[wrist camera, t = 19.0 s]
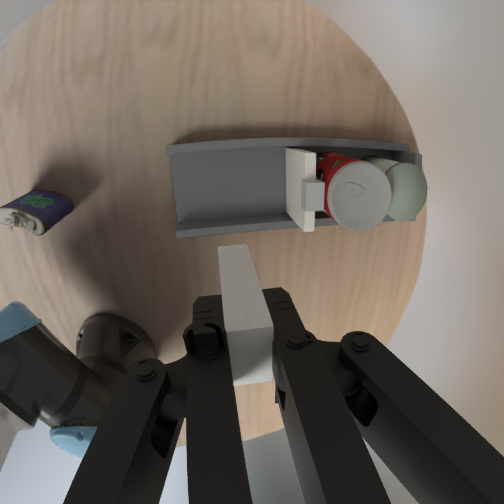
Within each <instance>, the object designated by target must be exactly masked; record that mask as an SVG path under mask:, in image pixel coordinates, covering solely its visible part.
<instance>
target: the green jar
mask: <svg viewBox="0 0 504 504" xmlns="http://www.w3.org/2000/svg"><path fill="white" fill-rule="evenodd" d="M360 160H363V161H366V162H369V163H372V164H373V165H375V166H377V167H378V168H380V169H381V170H382V171H383V172H384V173H385V175H386V176H387V178H388V180H389V182H390V185H391V190H392V200H391V205H390V208H389V211H388V213H387V215H388V216H390V217H391V218H393V219H395V220H397V221H408V220H410V219H412V218H414V217H415V216H416V215H417V214H418V213H419V212H420V211H421V209H422V208H423V206H424V203H425V201H426V197H427V182H426V178H425V176H424V174H423V172H422V171H421V170H420V169H419V168H418V167H417V166H415V165H413V164H410V163H405V162H401V163H400V162H396V161H393V160H389V159H385V158H381V157H377V156H365V157H363V158H361V159H360Z"/></svg>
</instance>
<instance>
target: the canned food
mask: <svg viewBox="0 0 504 504" xmlns="http://www.w3.org/2000/svg"><path fill="white" fill-rule="evenodd" d="M316 180H321V181H323V182H325V194H324V211H323V212H325V213H326V214H327V215H328V216H330V217H331V218H332V219H333V220H335V221H336V222H337V223H339V224H340V225H341V226H343V227H345V228H347V229H349V230H352V231H366V230H369V229H372V228H374V227H375V226H377V225H378V224H379V223H380V222H381V221H382V220H383V219H384V218H385V216H386V215H387V213H388V211H389V208H390V205H391V200H392V190H391V185H390V182H389V180H388V178H387V176H386V175H385V173H384V172H383V171H382V170H381V169H380V168H378V167H377V166H375V165H373V164H372V163H369V162H366V161H363V160H359V159H355V158H352V157H348V156H344V155H339V154H335V153H331V152H322V153H318V154H316Z"/></svg>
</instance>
